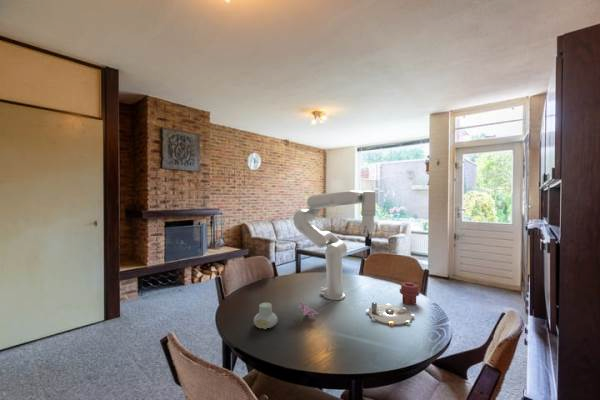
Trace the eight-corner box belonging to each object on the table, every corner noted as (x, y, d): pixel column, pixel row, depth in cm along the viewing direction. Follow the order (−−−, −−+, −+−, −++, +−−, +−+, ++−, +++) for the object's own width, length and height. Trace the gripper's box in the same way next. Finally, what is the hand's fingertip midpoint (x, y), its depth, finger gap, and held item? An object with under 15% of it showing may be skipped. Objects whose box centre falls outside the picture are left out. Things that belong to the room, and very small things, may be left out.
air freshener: (279, 323, 130) (279, 302, 130) (273, 331, 122) (273, 309, 122) (258, 320, 133) (257, 300, 133) (251, 329, 125) (250, 307, 125)
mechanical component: (417, 302, 155) (421, 309, 145) (398, 301, 157) (401, 308, 147) (417, 280, 154) (421, 286, 145) (398, 279, 156) (401, 285, 147)
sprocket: (392, 330, 120) (392, 316, 120) (357, 312, 139) (357, 299, 139) (424, 319, 131) (424, 305, 131) (387, 303, 150) (387, 291, 150)
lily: (319, 328, 127) (324, 306, 131) (297, 321, 124) (302, 299, 128) (308, 325, 138) (313, 305, 142) (287, 319, 135) (293, 299, 139)
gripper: (365, 212, 162) (364, 243, 162) (358, 213, 149) (357, 247, 149) (378, 212, 158) (377, 244, 159) (372, 214, 145) (371, 248, 146)
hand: (368, 245), depth 154 cm, fingers closed
